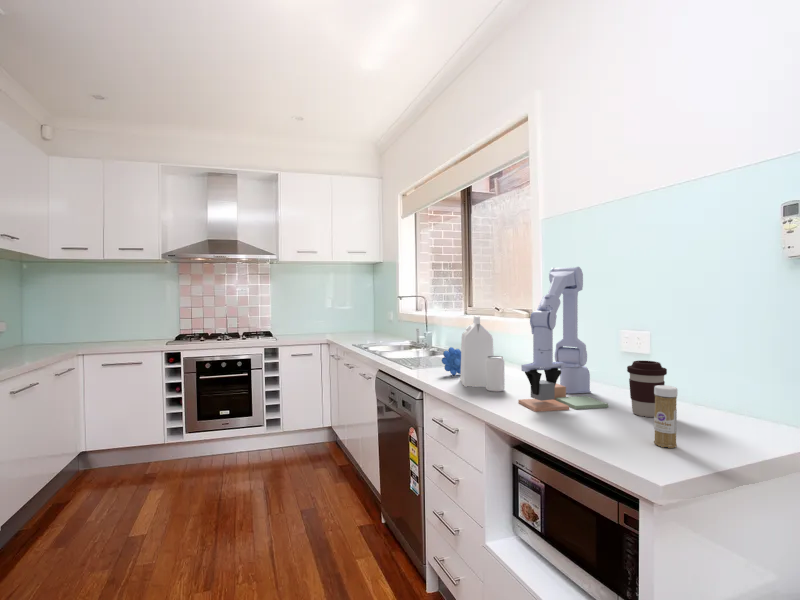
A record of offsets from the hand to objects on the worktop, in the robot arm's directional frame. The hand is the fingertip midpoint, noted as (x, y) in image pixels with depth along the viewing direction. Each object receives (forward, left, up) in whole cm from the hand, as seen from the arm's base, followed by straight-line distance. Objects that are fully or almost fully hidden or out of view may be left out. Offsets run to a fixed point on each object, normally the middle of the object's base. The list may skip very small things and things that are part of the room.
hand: (543, 393), depth 140 cm
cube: (0, 0, -2) cm, 2 cm away
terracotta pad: (0, 0, -4) cm, 4 cm away
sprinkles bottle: (-9, +39, -4) cm, 40 cm away
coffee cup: (-24, +15, -4) cm, 29 cm away
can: (+5, -25, -4) cm, 26 cm away
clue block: (-9, -10, -4) cm, 14 cm away
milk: (+7, -38, -4) cm, 39 cm away
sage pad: (-13, 0, -4) cm, 14 cm away
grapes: (+10, -56, -4) cm, 57 cm away
